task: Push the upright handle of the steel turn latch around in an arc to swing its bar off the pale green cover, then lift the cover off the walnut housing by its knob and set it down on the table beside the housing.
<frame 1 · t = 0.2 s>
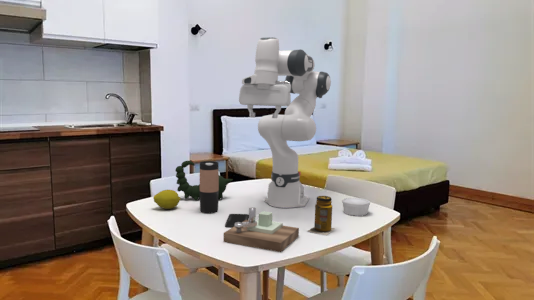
hand: (263, 117, 156), 39 cm above the table, tool pointing down, fingers open, 8 cm apart
condiment: (321, 231, 148), on the table
cover: (265, 228, 140), point 3 cm above the table, touching housing
travel mug: (209, 211, 169), on the table
ramekin: (355, 213, 171), on the table
lemon: (167, 209, 172), on the table
housing: (261, 239, 138), on the table
toy figurine: (204, 199, 189), on the table
phone: (237, 222, 157), on the table
latch: (245, 217, 136), point 8 cm above the table, hinge at 0.0°
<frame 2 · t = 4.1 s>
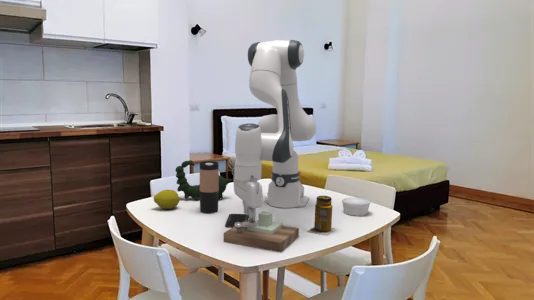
hand: (247, 214, 139), 8 cm above the table, tool pointing down, fingers closed
latch: (245, 217, 136), point 8 cm above the table, hinge at 0.0°, touching gripper
everything else where it was.
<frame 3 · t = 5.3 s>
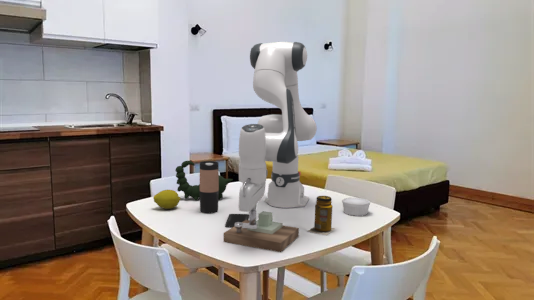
hand: (252, 216, 136), 8 cm above the table, tool pointing down, fingers closed, pressing on latch
latch: (246, 218, 135), point 8 cm above the table, hinge at -29.1°, touching gripper
everything else where it was.
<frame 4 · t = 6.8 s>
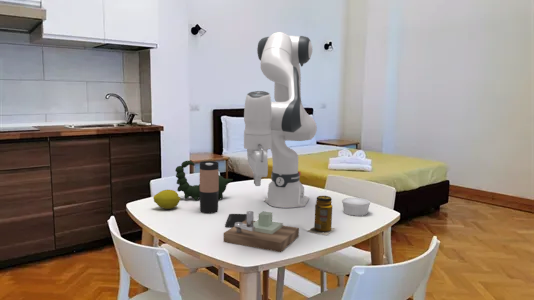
hand: (257, 185, 135), 18 cm above the table, tool pointing down, fingers closed
latch: (244, 219, 134), point 8 cm above the table, hinge at -56.3°
everything else where it was.
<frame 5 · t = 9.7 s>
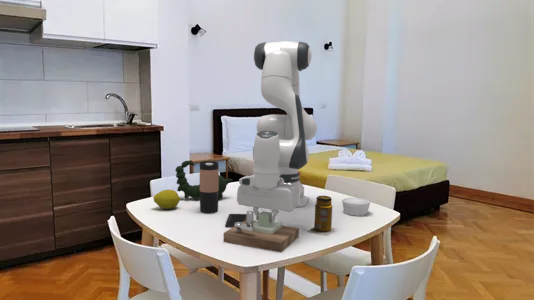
hand: (265, 220, 140), 6 cm above the table, tool pointing down, fingers closed on cover, 3 cm apart
cover: (265, 228, 140), point 3 cm above the table, touching gripper, housing
everything else where it was.
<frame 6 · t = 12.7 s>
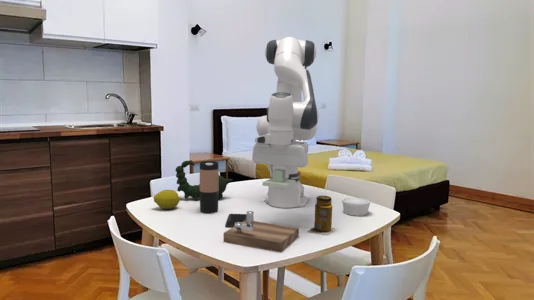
hand: (279, 177, 148), 18 cm above the table, tool pointing down, fingers closed on cover, 3 cm apart
cover: (279, 184, 148), point 16 cm above the table, touching gripper
everything else where it was.
when the fingers open (4 cm above the table, at t = 15.5 s): cover drops 2 cm, on the table.
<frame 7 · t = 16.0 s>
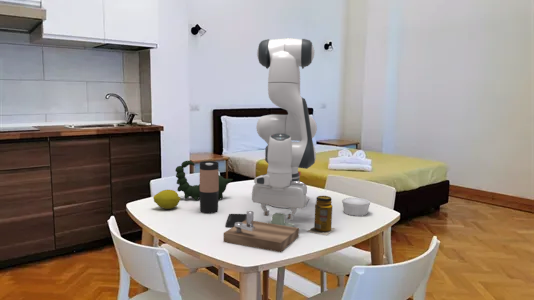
hand: (278, 217, 150), 4 cm above the table, tool pointing down, fingers open, 8 cm apart
cover: (278, 228, 151), on the table
everything else where it was.
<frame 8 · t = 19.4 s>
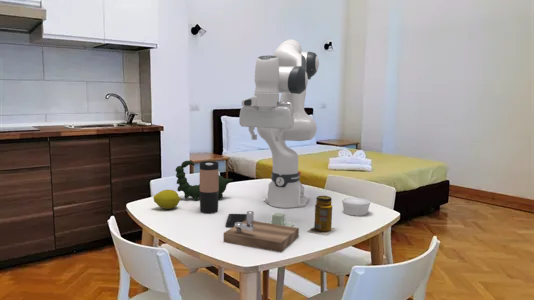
hand: (265, 140, 150), 31 cm above the table, tool pointing down, fingers open, 8 cm apart
nothing on the table moved.
at the end: latch at -56° (first picture: +0°); cover inside the target area (0.2 cm from its centre), on the table; cover tilted 0° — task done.
